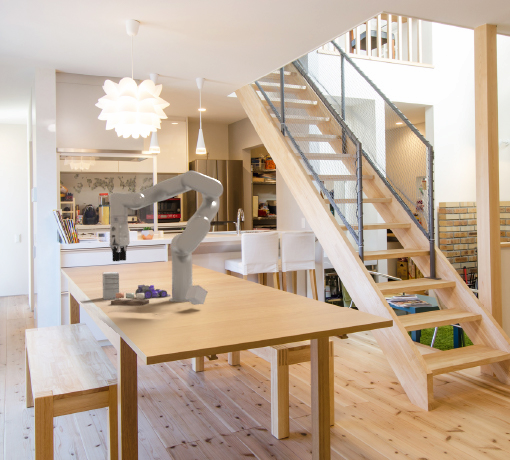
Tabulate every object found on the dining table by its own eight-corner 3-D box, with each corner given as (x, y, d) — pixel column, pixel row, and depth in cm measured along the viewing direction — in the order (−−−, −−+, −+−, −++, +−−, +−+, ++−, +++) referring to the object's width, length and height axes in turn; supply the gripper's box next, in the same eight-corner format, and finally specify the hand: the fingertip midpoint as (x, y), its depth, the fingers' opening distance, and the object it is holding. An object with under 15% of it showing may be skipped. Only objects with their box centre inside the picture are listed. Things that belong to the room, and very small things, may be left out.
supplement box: (102, 298, 235) (102, 272, 236) (118, 297, 238) (117, 271, 238) (103, 299, 229) (103, 273, 229) (119, 298, 231) (119, 272, 231)
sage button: (135, 297, 215) (135, 292, 215) (131, 298, 212) (131, 293, 212) (128, 297, 216) (128, 292, 216) (124, 298, 213) (124, 293, 213)
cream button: (145, 297, 214) (145, 293, 214) (142, 298, 211) (142, 294, 211) (138, 297, 215) (138, 293, 215) (134, 298, 212) (134, 294, 212)
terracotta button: (125, 297, 217) (125, 292, 217) (121, 298, 213) (121, 293, 213) (118, 297, 217) (118, 292, 217) (114, 298, 214) (114, 293, 214)
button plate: (149, 303, 215) (149, 299, 215) (143, 305, 209) (143, 301, 209) (117, 302, 219) (117, 299, 219) (110, 304, 213) (110, 301, 213)
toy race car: (171, 297, 238) (171, 284, 238) (143, 300, 229) (143, 286, 229) (162, 295, 245) (162, 282, 245) (135, 298, 236) (135, 284, 236)
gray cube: (184, 298, 207) (189, 286, 210) (193, 304, 210) (198, 292, 213) (194, 297, 203) (198, 285, 206) (203, 303, 207) (207, 291, 210)
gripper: (117, 219, 206) (117, 262, 206) (135, 220, 223) (135, 259, 223) (101, 220, 208) (101, 262, 208) (120, 220, 225) (121, 259, 224)
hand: (119, 260), depth 215 cm, fingers open, 5 cm apart
